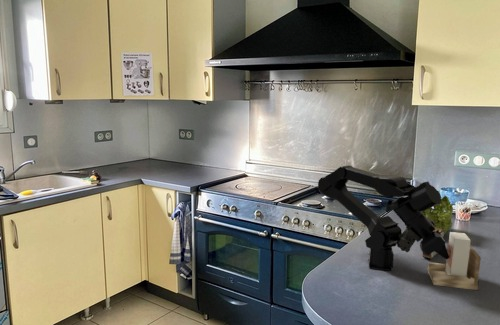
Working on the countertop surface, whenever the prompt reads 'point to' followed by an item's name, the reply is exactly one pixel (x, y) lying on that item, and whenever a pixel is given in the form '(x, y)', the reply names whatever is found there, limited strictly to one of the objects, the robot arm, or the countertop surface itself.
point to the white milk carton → (457, 254)
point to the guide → (467, 282)
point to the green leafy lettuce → (441, 214)
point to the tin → (434, 251)
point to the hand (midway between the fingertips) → (447, 258)
